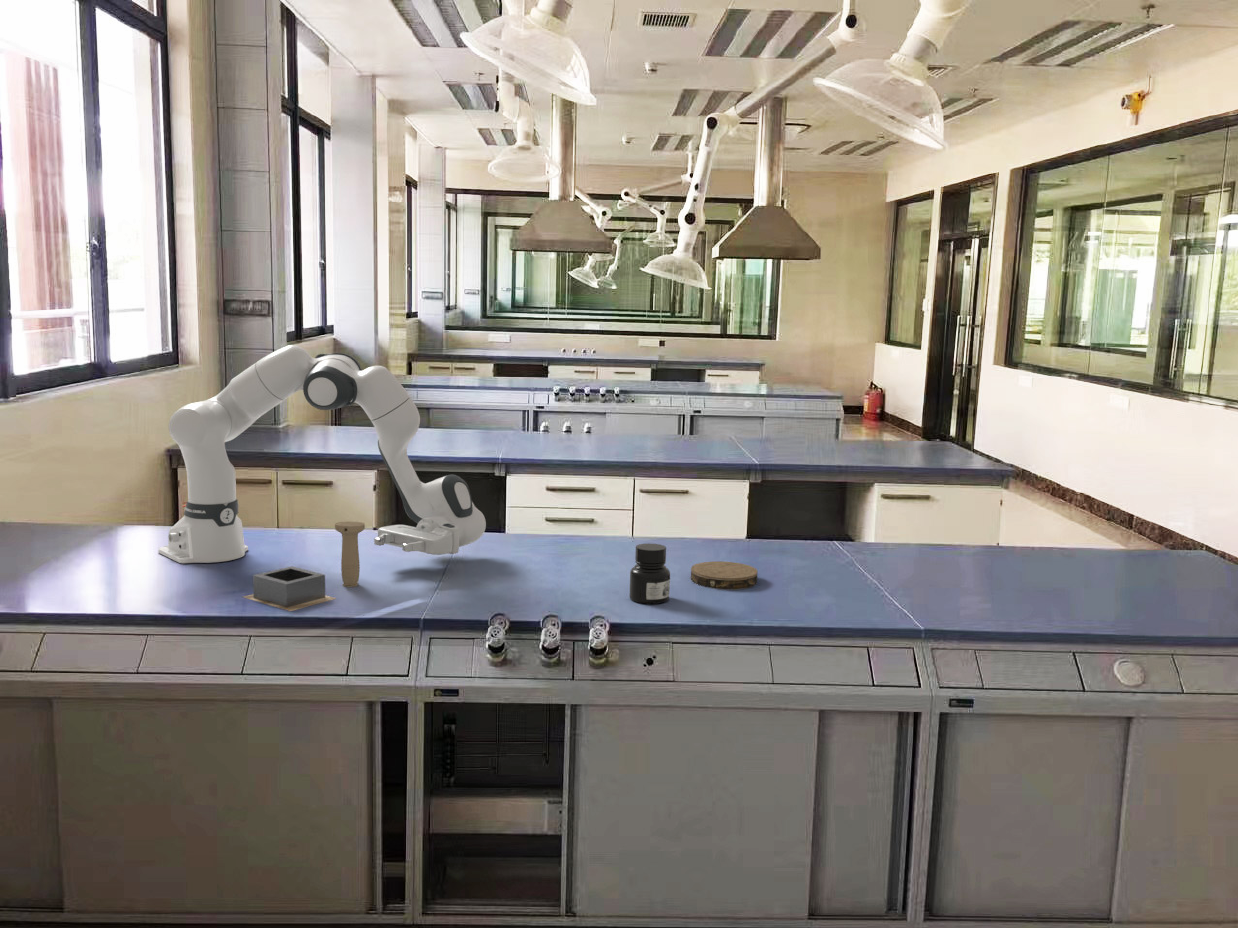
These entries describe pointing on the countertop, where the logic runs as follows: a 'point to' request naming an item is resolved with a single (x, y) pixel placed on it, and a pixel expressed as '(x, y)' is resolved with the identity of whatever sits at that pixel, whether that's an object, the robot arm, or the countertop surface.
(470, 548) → the countertop surface
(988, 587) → the countertop surface
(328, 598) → the base board
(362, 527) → the handle
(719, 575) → the brown round disc
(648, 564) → the ink bottle
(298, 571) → the square frame
